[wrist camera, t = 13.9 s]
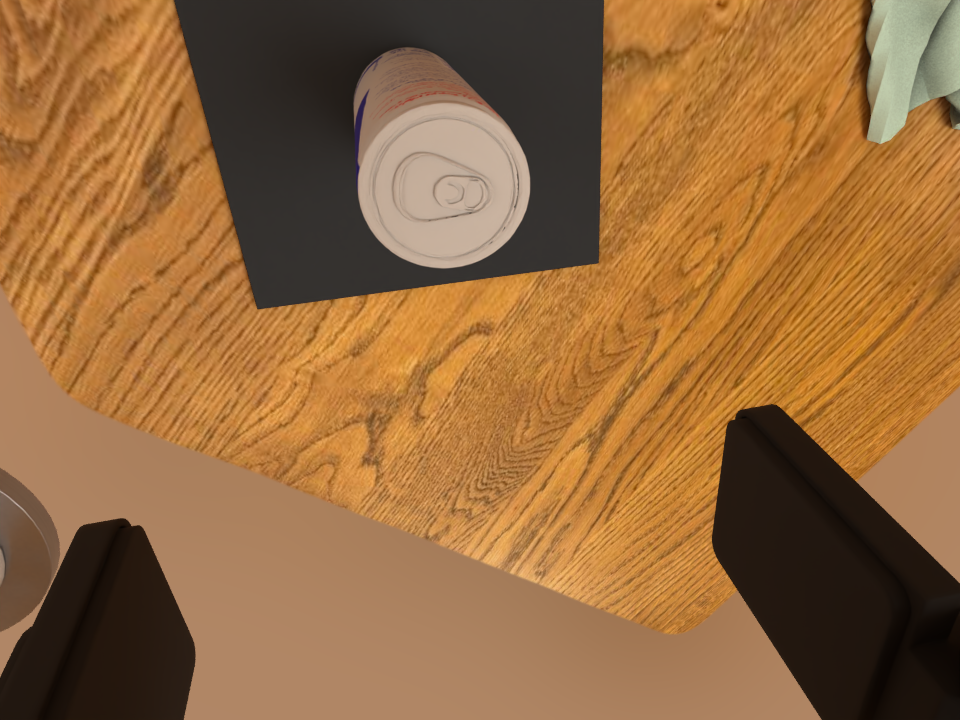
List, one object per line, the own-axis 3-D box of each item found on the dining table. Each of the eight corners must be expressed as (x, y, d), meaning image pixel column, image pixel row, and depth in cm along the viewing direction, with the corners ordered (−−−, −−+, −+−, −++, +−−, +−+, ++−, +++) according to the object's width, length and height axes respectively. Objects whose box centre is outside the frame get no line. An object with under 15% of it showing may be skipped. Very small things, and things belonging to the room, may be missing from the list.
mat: (258, 306, 39) (257, 309, 38) (143, -122, 28) (140, -123, 28) (596, 260, 41) (598, 263, 40) (604, -153, 30) (607, -155, 30)
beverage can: (331, 83, 33) (319, 158, 20) (430, 23, 32) (483, 61, 20) (390, 182, 36) (413, 302, 23) (483, 129, 35) (559, 222, 23)
